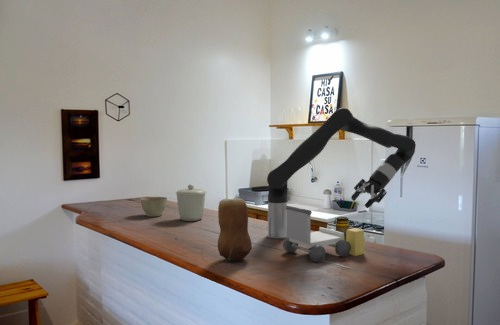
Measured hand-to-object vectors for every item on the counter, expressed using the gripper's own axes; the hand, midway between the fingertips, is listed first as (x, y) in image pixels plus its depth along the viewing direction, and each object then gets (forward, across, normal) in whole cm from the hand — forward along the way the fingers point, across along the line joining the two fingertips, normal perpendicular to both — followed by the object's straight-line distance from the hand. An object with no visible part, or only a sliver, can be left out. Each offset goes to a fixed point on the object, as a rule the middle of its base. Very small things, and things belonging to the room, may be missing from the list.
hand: (359, 203), depth 186 cm
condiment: (+16, -8, +16) cm, 24 cm away
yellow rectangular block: (+18, +8, +9) cm, 21 cm away
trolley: (+29, +1, -1) cm, 29 cm away
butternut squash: (+53, -8, -24) cm, 59 cm away
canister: (+58, -93, +2) cm, 110 cm away
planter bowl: (+72, -117, -5) cm, 138 cm away
